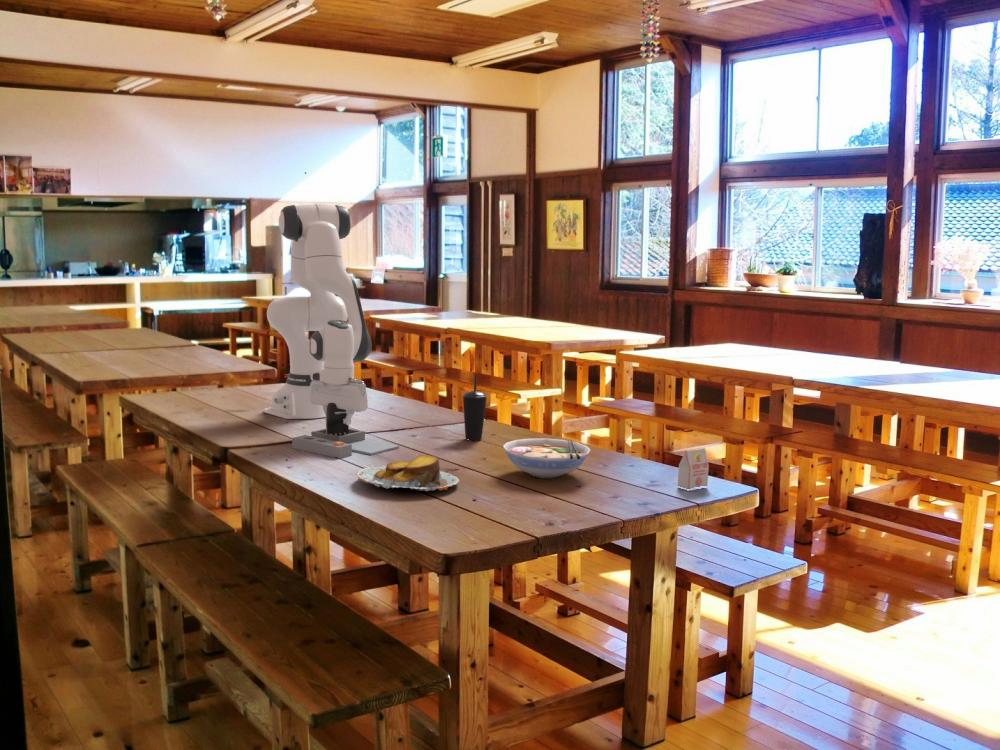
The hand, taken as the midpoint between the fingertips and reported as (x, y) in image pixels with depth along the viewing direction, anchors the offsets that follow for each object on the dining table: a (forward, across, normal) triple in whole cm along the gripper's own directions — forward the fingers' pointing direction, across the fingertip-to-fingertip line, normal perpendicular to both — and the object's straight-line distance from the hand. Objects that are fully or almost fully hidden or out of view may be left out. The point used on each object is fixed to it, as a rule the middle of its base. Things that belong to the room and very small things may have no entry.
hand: (338, 422), depth 284 cm
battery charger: (+5, 0, 0) cm, 5 cm away
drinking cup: (+5, -29, -28) cm, 41 cm away
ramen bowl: (+5, -68, -6) cm, 68 cm away
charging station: (+5, -5, +5) cm, 9 cm away
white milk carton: (+5, -103, -20) cm, 105 cm away
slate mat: (+5, -14, +2) cm, 15 cm away
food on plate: (+6, -47, +25) cm, 53 cm away
